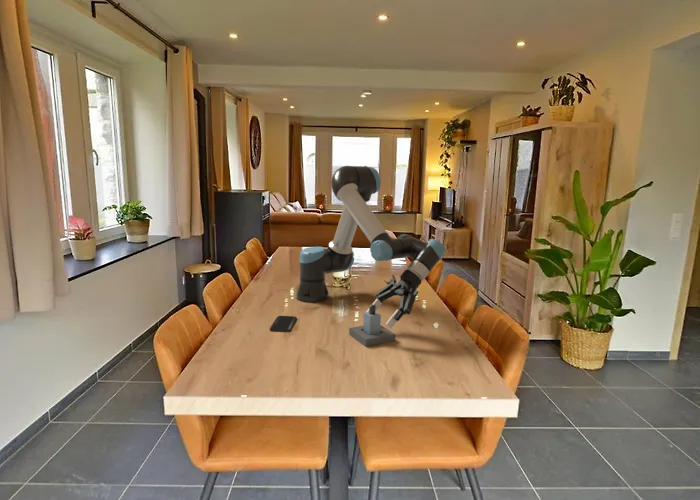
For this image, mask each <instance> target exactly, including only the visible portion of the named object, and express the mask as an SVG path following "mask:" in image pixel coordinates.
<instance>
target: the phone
mask: <svg viewBox="0 0 700 500" xmlns="http://www.w3.org/2000/svg"><path fill="white" fill-rule="evenodd" d="M296 321H297V316H295V315H291V316H289V315H278V316H277V317H276V318H275V320H274V321H273V322H272V324H271V325H270V327H269V332H276V333H277V332H280V333H281V332H283V333H289V332H291V331H292V329H293V327H294V325H295V324H296Z"/></svg>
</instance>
